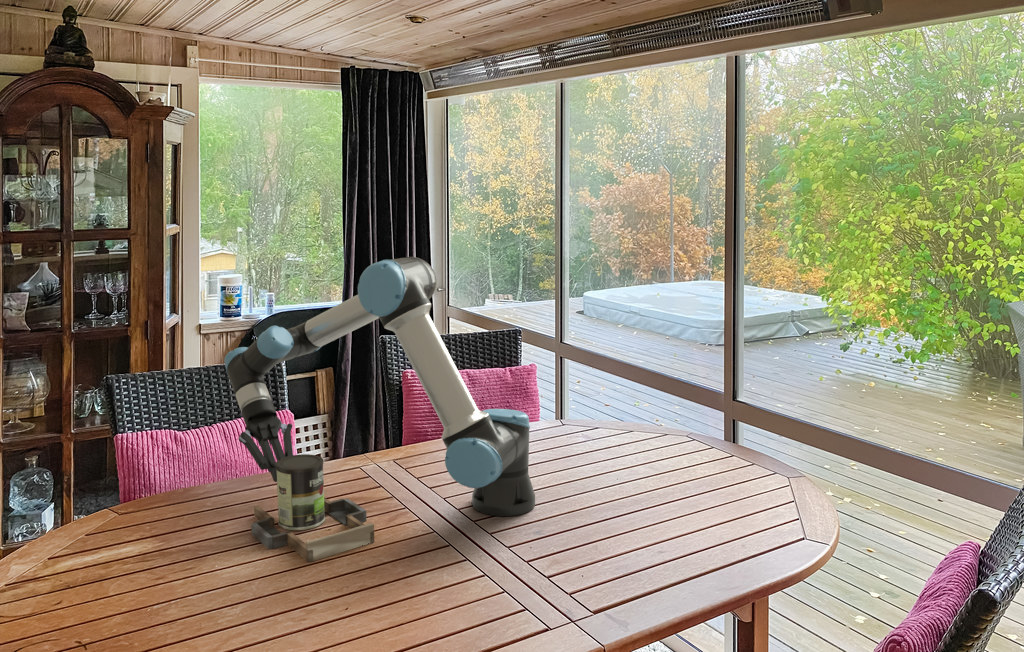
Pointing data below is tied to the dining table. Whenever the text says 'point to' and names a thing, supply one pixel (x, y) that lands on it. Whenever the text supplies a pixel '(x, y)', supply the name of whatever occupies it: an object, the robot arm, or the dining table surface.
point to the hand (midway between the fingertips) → (287, 491)
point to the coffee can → (300, 492)
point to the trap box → (322, 546)
